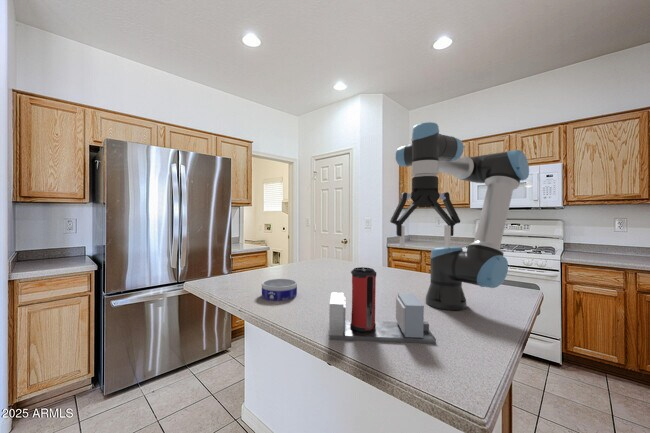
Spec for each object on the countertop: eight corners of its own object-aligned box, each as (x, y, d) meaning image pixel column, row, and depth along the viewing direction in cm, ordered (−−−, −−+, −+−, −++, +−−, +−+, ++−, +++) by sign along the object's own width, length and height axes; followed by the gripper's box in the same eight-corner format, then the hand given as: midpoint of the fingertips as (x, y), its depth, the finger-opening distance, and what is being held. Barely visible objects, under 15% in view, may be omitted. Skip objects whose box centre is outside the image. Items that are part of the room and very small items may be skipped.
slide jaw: (422, 321, 92) (422, 294, 92) (434, 338, 80) (434, 306, 80) (395, 320, 92) (395, 293, 92) (403, 336, 80) (403, 305, 80)
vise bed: (424, 326, 92) (424, 322, 92) (436, 343, 80) (436, 339, 80) (331, 323, 94) (331, 319, 94) (329, 339, 82) (329, 335, 82)
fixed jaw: (345, 320, 93) (345, 292, 93) (345, 335, 81) (345, 304, 81) (331, 319, 94) (331, 292, 94) (329, 335, 82) (329, 303, 82)
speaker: (349, 322, 91) (350, 266, 91) (374, 323, 91) (374, 267, 91) (350, 332, 84) (351, 271, 83) (377, 333, 83) (378, 272, 83)
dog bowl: (301, 292, 130) (301, 279, 130) (289, 302, 115) (289, 288, 115) (270, 290, 134) (270, 277, 133) (255, 299, 119) (255, 285, 119)
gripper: (460, 177, 89) (460, 245, 89) (380, 178, 89) (380, 245, 90) (473, 174, 81) (472, 248, 82) (385, 175, 82) (385, 248, 82)
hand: (424, 247), depth 86 cm, fingers open, 13 cm apart
